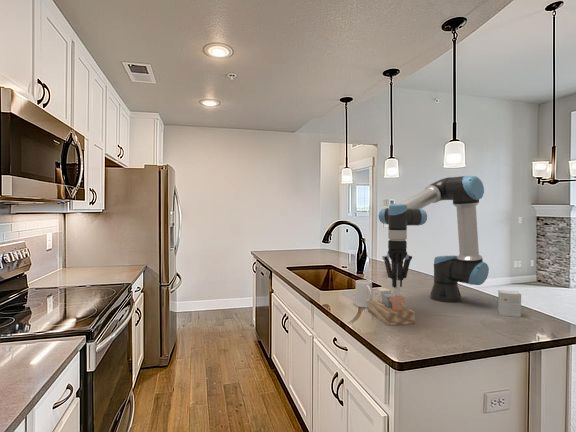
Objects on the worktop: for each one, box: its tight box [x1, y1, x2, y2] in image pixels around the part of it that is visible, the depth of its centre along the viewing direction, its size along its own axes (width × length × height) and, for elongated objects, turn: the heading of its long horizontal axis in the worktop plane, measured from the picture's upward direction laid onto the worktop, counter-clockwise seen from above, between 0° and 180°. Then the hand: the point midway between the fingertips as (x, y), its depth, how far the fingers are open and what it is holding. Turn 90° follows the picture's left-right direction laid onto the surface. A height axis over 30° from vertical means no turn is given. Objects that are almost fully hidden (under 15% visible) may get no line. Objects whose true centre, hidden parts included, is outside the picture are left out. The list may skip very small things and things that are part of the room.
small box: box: [497, 289, 522, 318], centre depth 161 cm, size 8×6×10 cm
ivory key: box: [376, 287, 392, 304], centre depth 164 cm, size 5×5×7 cm
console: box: [367, 299, 415, 326], centre depth 158 cm, size 12×20×5 cm, turn 10°
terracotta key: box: [389, 294, 406, 312], centre depth 151 cm, size 5×5×7 cm
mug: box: [354, 279, 373, 308], centre depth 176 cm, size 12×8×12 cm
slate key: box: [383, 293, 395, 308], centre depth 158 cm, size 5×5×7 cm
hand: (396, 294), depth 151 cm, fingers closed
